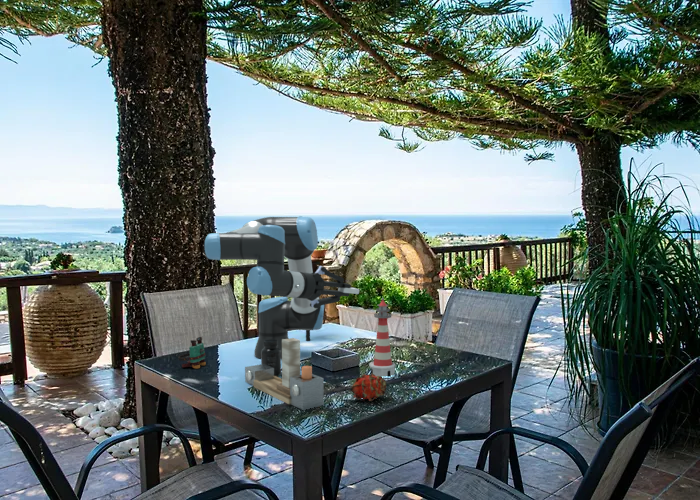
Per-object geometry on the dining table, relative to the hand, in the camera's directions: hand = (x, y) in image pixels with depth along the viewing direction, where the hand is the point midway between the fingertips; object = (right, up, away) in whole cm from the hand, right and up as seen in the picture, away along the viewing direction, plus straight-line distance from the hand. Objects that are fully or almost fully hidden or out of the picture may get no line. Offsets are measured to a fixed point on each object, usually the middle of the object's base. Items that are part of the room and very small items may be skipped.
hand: (356, 290), depth 174 cm
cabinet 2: (-15, -32, -15) cm, 38 cm away
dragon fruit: (+4, -32, -10) cm, 34 cm away
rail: (-23, -32, -3) cm, 39 cm away
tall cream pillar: (-20, -30, -8) cm, 37 cm away
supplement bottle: (-30, -31, +18) cm, 47 cm away
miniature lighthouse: (+9, -31, +17) cm, 36 cm away
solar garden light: (-21, -29, +76) cm, 84 cm away
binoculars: (-61, -31, +30) cm, 74 cm away
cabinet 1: (-32, -31, +8) cm, 45 cm away
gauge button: (-15, -27, -15) cm, 34 cm away
